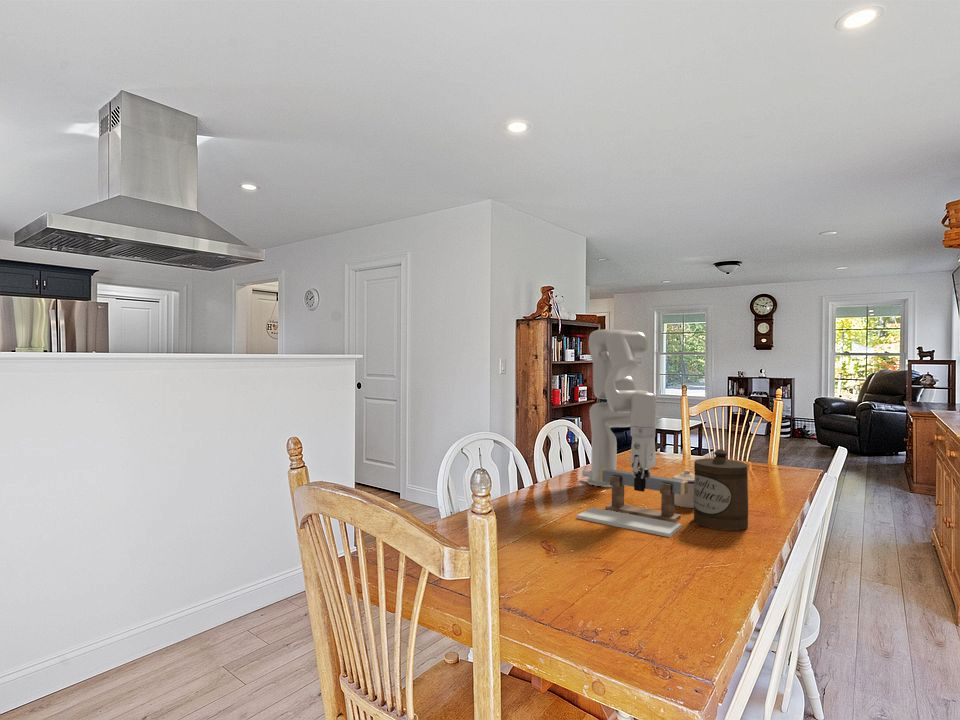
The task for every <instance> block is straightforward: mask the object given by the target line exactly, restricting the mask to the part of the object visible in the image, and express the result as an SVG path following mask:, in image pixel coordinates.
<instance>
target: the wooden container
mask: <svg viewBox="0 0 960 720" xmlns="http://www.w3.org/2000/svg"><path fill="white" fill-rule="evenodd" d="M713 454H714V457H713V458H699V459H698V458H697V459H695V460H694V463H693V464H694V465H693V466H694V467H693V468H694V475H695V480H694V481H695V482H694V508H693V521H694V522H695V523H696V524H698V525H699V526H702V527H705V528H708V529H712V530H713V529H714V530H718V531H727V532H728V531H729V532H730V531H731V532H733V531H742V530H745V529H747V528H748V527H749V483H748V482H749V481H748V479H749V477H748V476H749V475H748V474H749V473H748V470H749V469H748V463H745V462H744V461H740V460H739V461H738V460H733V459H728V458H727V457H726V456H727V455H728V453H727V451H726V450H724V449H722V448H721V449H717V450H715V451H714V453H713Z"/></svg>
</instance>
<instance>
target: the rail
mask: <svg viewBox="0 0 960 720" xmlns="http://www.w3.org/2000/svg"><path fill="white" fill-rule="evenodd" d="M610 476H617V477H620V485H624V486H626V487H627V486H628V487H633V488H634V472H633V471H632V472H631V471H623V470H617V469H616V470H612V469H605V468H604V469H601V470H599V481H602V482H608V483H610ZM644 479H645V490H651V491H657V492H660V483H665V484H671V493H675V494H681V495H685V494H687V493H688V481H686V480H679V479H673V477H672V478H671V477H665V476H664V477H663V476H658V475H651V474H650V475H645V474H644Z"/></svg>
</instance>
